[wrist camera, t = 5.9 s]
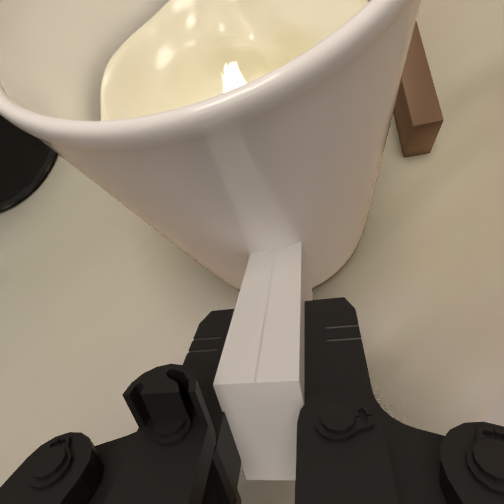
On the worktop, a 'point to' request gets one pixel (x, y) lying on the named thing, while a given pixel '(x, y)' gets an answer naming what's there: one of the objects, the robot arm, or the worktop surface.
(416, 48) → the walnut bay
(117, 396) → the worktop surface
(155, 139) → the candle holder
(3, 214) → the worktop surface
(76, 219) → the worktop surface
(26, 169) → the milk frother
